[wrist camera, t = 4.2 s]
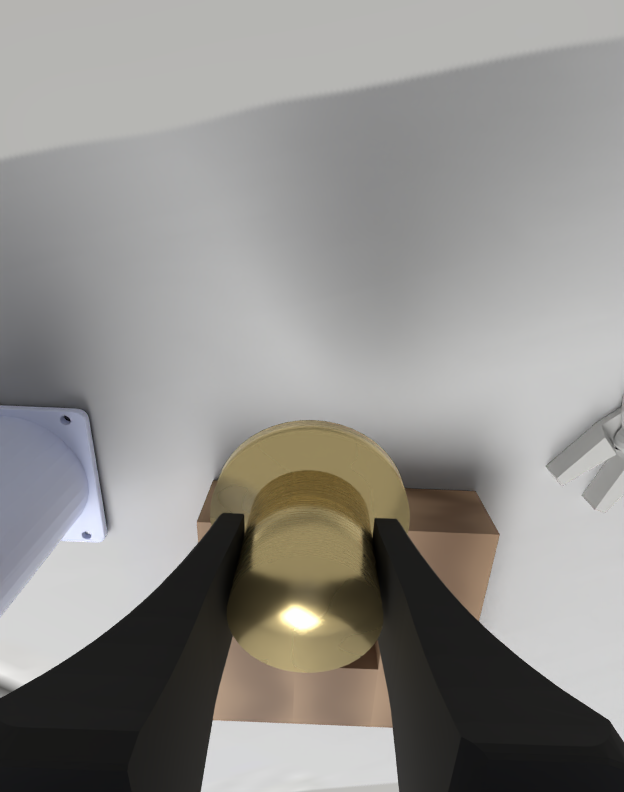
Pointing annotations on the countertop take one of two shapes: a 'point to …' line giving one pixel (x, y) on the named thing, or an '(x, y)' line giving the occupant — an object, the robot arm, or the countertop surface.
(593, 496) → the pliers
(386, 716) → the hitch block
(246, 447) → the pin
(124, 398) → the countertop surface
